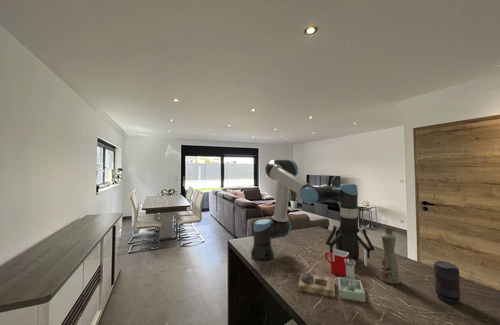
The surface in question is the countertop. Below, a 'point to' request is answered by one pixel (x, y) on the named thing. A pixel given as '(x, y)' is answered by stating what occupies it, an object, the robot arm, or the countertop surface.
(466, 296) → the countertop surface
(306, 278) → the block
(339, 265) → the mug
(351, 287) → the lock pin
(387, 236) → the bottle
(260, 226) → the robot arm
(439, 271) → the camera lens
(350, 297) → the tray
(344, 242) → the wheel rim
